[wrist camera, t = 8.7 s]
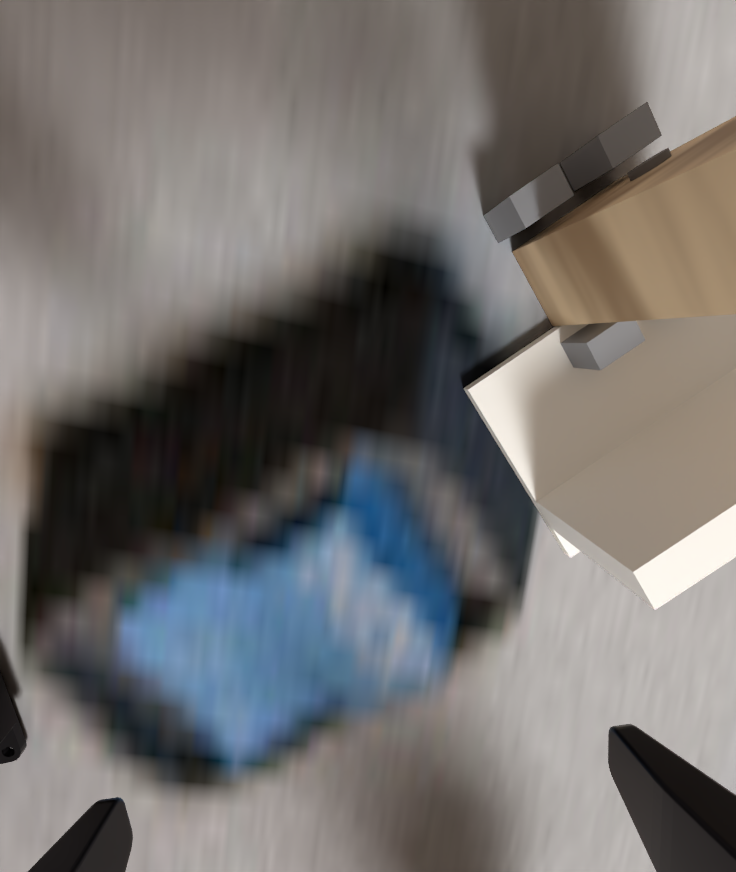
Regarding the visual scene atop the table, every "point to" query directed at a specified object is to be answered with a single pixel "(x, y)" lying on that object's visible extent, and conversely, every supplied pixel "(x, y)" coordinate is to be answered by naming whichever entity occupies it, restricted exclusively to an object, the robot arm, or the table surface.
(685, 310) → the wooden building block
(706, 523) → the cream board with pegs
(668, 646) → the table surface
